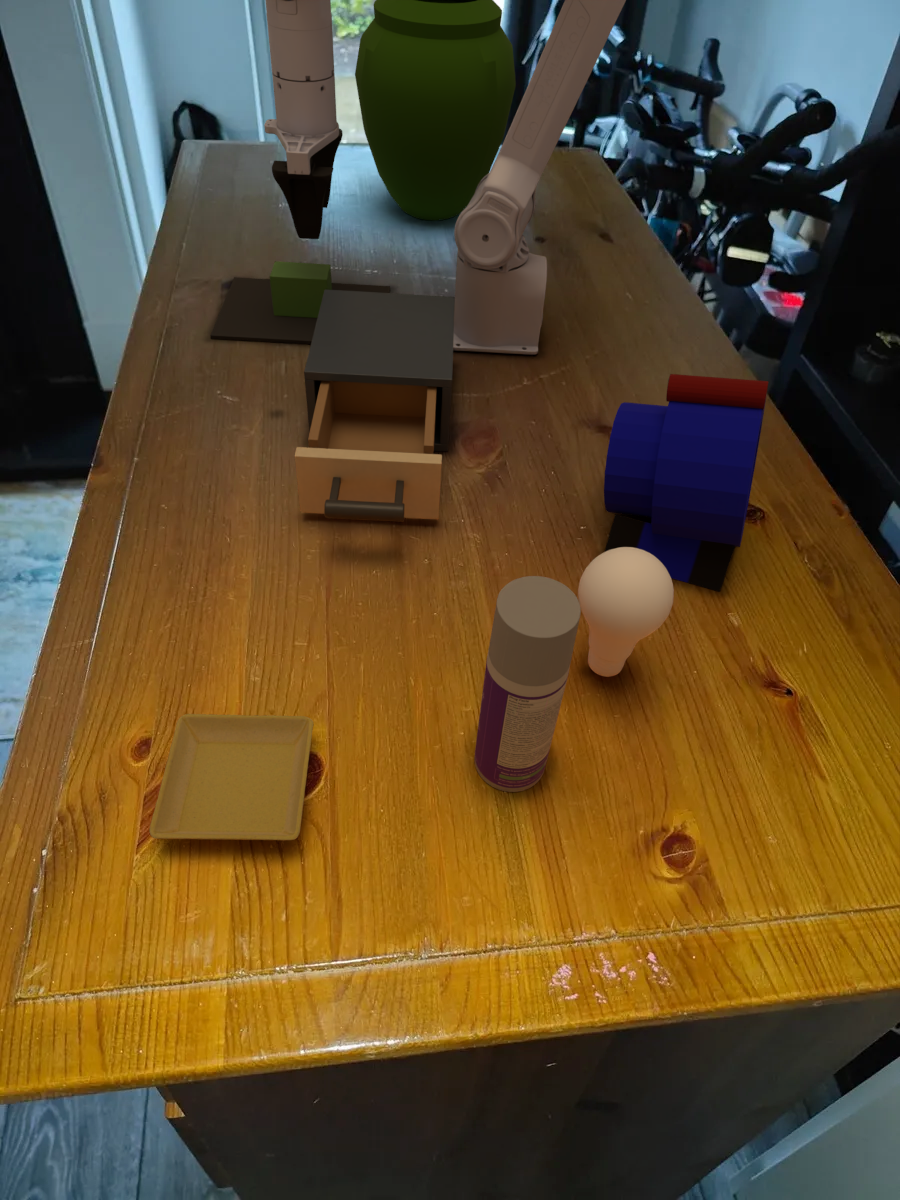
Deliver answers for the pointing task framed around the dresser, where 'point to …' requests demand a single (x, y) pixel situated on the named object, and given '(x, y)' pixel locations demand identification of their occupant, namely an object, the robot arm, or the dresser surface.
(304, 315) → the block
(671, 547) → the alarm clock
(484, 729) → the container
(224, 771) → the saucer
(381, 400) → the drawer
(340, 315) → the cabinet
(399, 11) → the vase
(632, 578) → the lightbulb
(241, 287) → the mat
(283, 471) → the dresser surface
